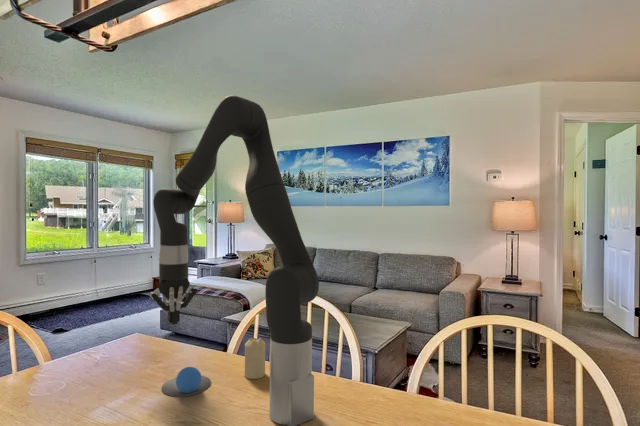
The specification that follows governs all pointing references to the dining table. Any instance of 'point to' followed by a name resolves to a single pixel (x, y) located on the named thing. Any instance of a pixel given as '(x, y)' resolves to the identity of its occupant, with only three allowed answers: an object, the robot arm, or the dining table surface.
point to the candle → (254, 358)
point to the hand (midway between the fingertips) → (173, 323)
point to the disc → (172, 390)
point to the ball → (188, 379)
